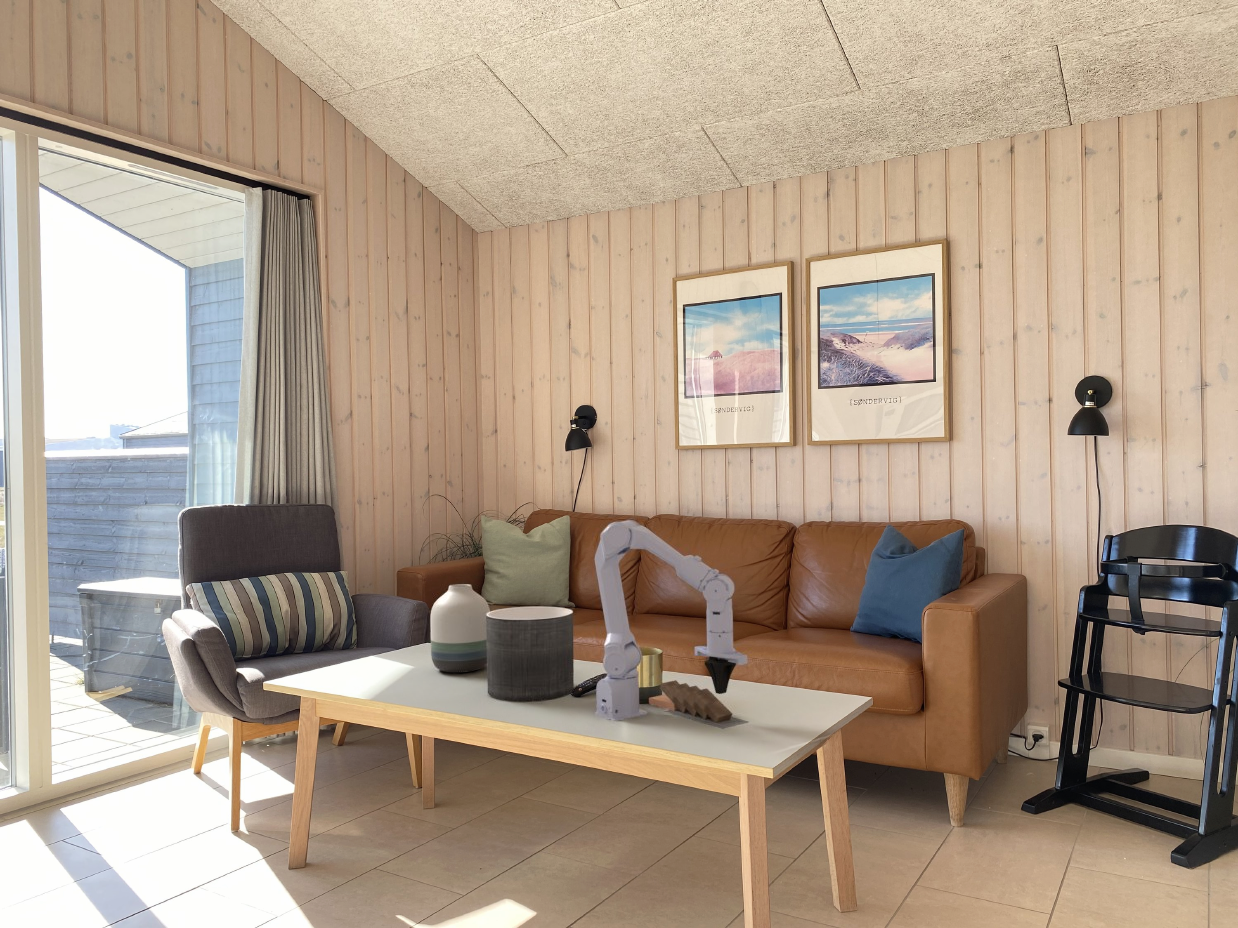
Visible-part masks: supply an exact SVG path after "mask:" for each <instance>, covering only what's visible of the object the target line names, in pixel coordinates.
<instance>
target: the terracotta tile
mask: <svg viewBox="0 0 1238 928" xmlns="http://www.w3.org/2000/svg"><path fill="white" fill-rule="evenodd" d="M648 703H649V705H653V706H655V707H659V708H662V709H666V710H674V711H675V710H679V708H678V707H677V706H676V705H675V704H674V703H673V702H672V701H671V700H670V699H669V698H668V697H667V696H666V695H665V694H662V695H661V694H660V695H656V696H652V697H649V698H648Z"/></svg>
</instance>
